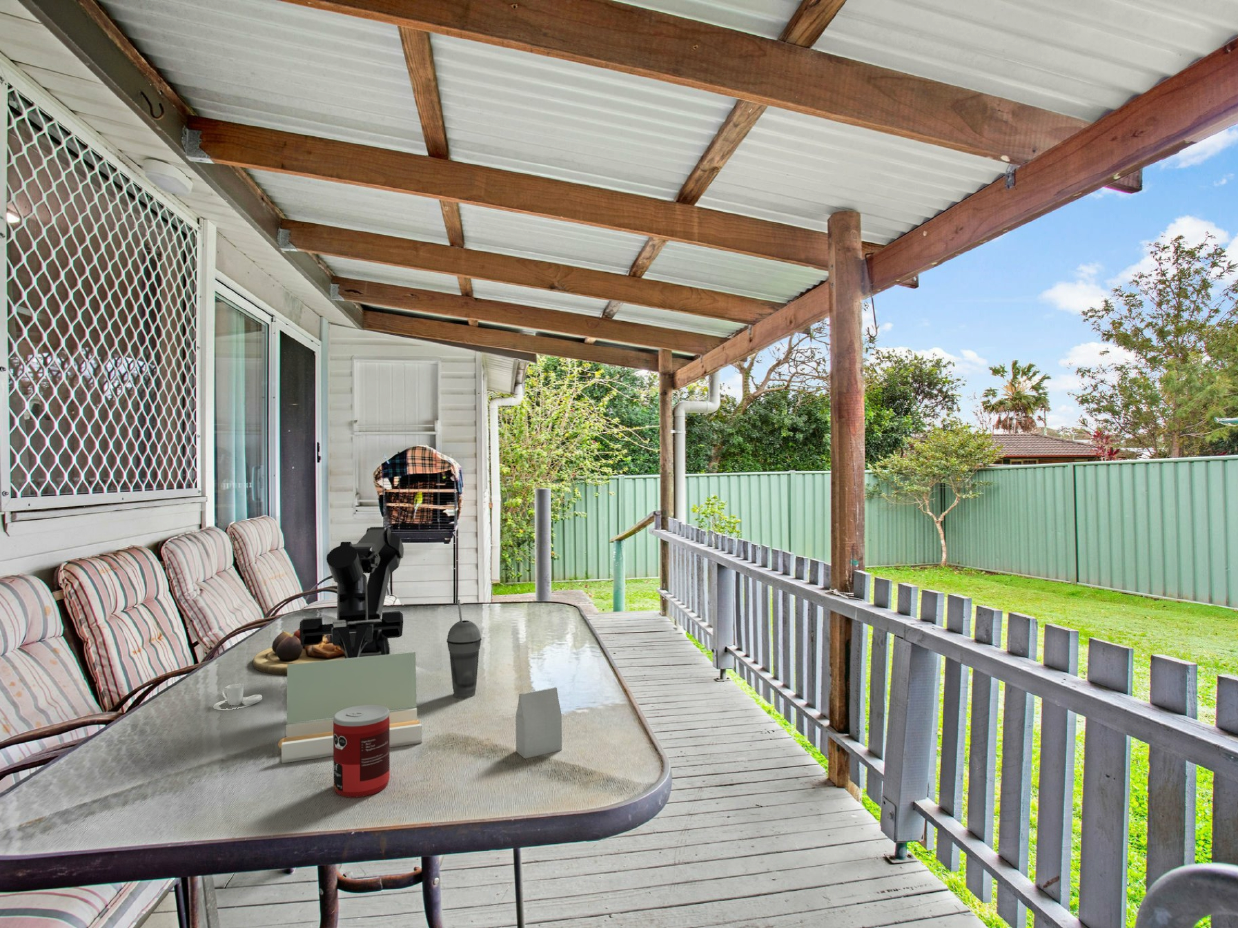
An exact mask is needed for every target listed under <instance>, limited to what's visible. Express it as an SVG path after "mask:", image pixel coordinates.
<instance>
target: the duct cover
mask: <svg viewBox="0 0 1238 928" xmlns="http://www.w3.org/2000/svg"><path fill="white" fill-rule="evenodd" d="M416 659H417V658H416V651H411V652H400V653H390V654H389V655H379V656H365V657H355V658H345V659H336V660H328V661H318V662H308V663H298V664H288V665H287V675H286V725H287V724H292V723H300V722H308V721H316V720H324V719H331V718H334V715H335V714H336V713H337V712H339V711H341V710H343V709H346V708H350V707H354V706H360V705H379V706H384V707H386V708H388V709H389V711H394V710H402V709H410V708H418V707H417V705H418V704H417V668H416V667H417V666H416V665H417V664H416V663H417V662H416Z"/></svg>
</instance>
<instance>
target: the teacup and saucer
mask: <svg viewBox="0 0 1238 928" xmlns="http://www.w3.org/2000/svg"><path fill="white" fill-rule="evenodd" d="M244 685H245V684H243V683H234V684H229V685H227V686H225V687H224V688H222V690H221V694H222V696H223V698H224V700H221V701H218V702H216V703H214V705H213V706H212V708H213V709H214V710H217V711H231V710H233V709H234V710H239V708H240V709H244V708H248V707H250V706H252V705H254V704H257V703H259V702H261V701H262V699H263V696H262V694H258V693H257V694H253V695H250V696H244V690H245V689H244V688H245V687H244ZM225 690H226V694H225ZM225 701H228V702H227V704H228V706H230V705H231V706H232V705H234V706H238V708H237V707H232V709H228V708H226V709H221V708H222V707H221V705H222V704H224V703H226V702H225ZM241 704H242V706H239V705H241ZM219 705H220V706H219ZM231 706H230V707H231ZM236 708H237V709H236ZM234 710H233V711H234Z"/></svg>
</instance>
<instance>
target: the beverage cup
mask: <svg viewBox="0 0 1238 928" xmlns="http://www.w3.org/2000/svg"><path fill="white" fill-rule="evenodd" d="M461 607H462V606H461V600H460V599H457V609H458V616H459V621H456V622H455V623H454V624H453V625H451V627H450V628H449V631H448V634H447V638H446V643H447V649H448V652H449V653H448V654H449V661H450V664H449V665H450V673H451V684H452V690H453V691H452V692H453V697H454V698H457V699H465V698H472V697H474V696H475V695H476V692H477V691H476V690H477V689H476V688H477V682H478V670H479V669H478V667H479V656H480V653H479V652H480V649H481V645H482V643H481V641H482V640H483V639H482V635H481V632H480V629H479V627H478V626H477V624H475V623H474V622H473V621H470V620H467V619H466V620H465V619H464V620H463V616H462V609H461Z"/></svg>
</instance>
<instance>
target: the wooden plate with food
mask: <svg viewBox="0 0 1238 928" xmlns="http://www.w3.org/2000/svg"><path fill="white" fill-rule="evenodd" d="M336 659H345V656H344V651H343V650H342V649H340V646H334V645H333V643H331V644H330V635H323V641H322V642H321V643H320V644H319V645H309V646H303V645H301V643H300V631H299V628H298V629H297V630H296V631H293V634H292V633H290V632H287V631H286V630H283V631H282V632H280V633H279V634H278V635H277V636H276V637H275V639H273V641H272V643H271V647H267V648H266V649H264V650H262V651H260V652H258V653H257V654H256V655H254V657H253V660H252V665H253V667H254V668H255V669H256V670H257V671H260V672H262V673H265V674H273V675H284V676H287V665H288V664H298V663H308V662H318V661H328V660H336Z"/></svg>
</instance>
